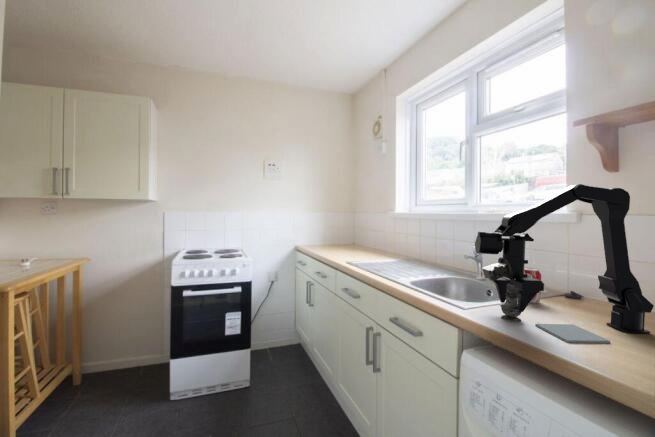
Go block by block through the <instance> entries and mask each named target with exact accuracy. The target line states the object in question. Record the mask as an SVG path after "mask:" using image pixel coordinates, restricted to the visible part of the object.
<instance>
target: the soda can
mask: <svg viewBox="0 0 655 437" xmlns="http://www.w3.org/2000/svg"><path fill="white" fill-rule="evenodd" d="M524 273H525V274H528V276H527V278H534V279H538V280H541V281H542V274H541V271H540V269H539V268H534V267H525V266H524ZM541 293H542V291H540V293H537V294H536V295H535V296H534V297H533V298H532V300H531V301H530V303H529V304H537V303H540V301H541V298H542V296H541Z"/></svg>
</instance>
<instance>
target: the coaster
mask: <svg viewBox="0 0 655 437" xmlns="http://www.w3.org/2000/svg"><path fill="white" fill-rule="evenodd" d="M535 327H536V328H538V329H541V330H542V331H545V332H547V333H548V334H550V335H552V336H554V337H556V338H557V339H560V340H562V341H563V342H565V343H568V344H571V343H572V344H611V340H609V339H607V338H605V337H603V336H600V335H598V334H596V333H593V332H591V331H589V330H586V329H585V328H582V327H580V326H578V325H575V324H574V323H573V324H571V323H563V324H562V323H535Z"/></svg>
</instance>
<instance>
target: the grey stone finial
mask: <svg viewBox="0 0 655 437" xmlns="http://www.w3.org/2000/svg"><path fill="white" fill-rule="evenodd" d="M513 288H516V287H515V285H514V282H512V281H511V282H509V283H507V292H506V293H505V295H506V300H505V303H502V304H500V306H499V307H500V309H501V313H503V315H501V316H500V318H501V319H502V320H505V321H508V322H513V323H521V322H522V319H521V318H520V317H519V316H521V315H522V312H519V309H518V294H517V292H516V291H515V290H514V289H513Z"/></svg>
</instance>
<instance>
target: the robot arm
mask: <svg viewBox="0 0 655 437" xmlns="http://www.w3.org/2000/svg"><path fill="white" fill-rule="evenodd" d="M575 201H579V202H582V203H586V204H590V205H591V207H592V209H593V210H592V211H593V213H595V215H596V216H597V217H598V219H599V221H600V224H601V225H600V226H601V233H602V241H603V250H604V257H605V266H606V270H605V272H604V273H603V275H601V274H599V275H597V280H598V281H599V284H598V285H599V286H598V289H599V290H601V293H602V294H603V295H604V296H606V299H607V301H608V303H610V304H612V310H611V311H610V312H611V313H610V322H606V325H607V326H610V327H612V328H615V329H617V330H620V331H622V332H624V333H628V334H651V331H650V330H647V329H645V321H646V319H645V318H646V317H645V316H646V313H649V314H651V313H652V311H653V309H654V304H653V303H652V302H651V301H649V300H648V299H647V298H646V297H645V296H644V295H643V292H642V289H641V288H642V287H641V286H640V282H639V280H638V279H637V278H636V276H635V275H634V274H633V272H632V271H631V266H630V256H629V248H628V241H627V240H628V239H627V234H626V233H627V232H626V226H625V218H626V216H627V214H628V212H629V211H630V206H631V195H630V193H629V191H627V190H625V189H624V188H621V187H613V188H605V187H598V186H590V185H586V184H581V183H579V184H571V185H569V186H567V187H566V188H565V189H563V190H561V191H559V192H557V193H555V194H553V195H552V196H549V197H548V198H546V199H544V200H542V201H540V202H538V203H536V204H535V205H534V204H533V205H532V206H531V207H528V208H525V209H521V210H517V211H515V212H511V213H509V214H506V215H504V216H503V217H502V219H501V224H500V225H498V227H497V228H496V229H495V230H494V231H493V232H486V231H478V232H477V236H476V239H475V241H474V249H475V253H476V254H479V255H494V256H495V255H496V256H497V255H499V254H500V253H502V256H501V257H498V259H497V260H498V261H497V262H496V263H491V264H488V265H486V266H483V267H481V269H482V272H483V275H484V278H485V279H488V280H490V281H491V282H492V283H493V284H494V286H495V288H496V291H497V296H498V298H499V302H500V303H502V304H505V302H506V295H505V293H506V292H507V283H509V282H514V285H515V287H516V288H513V289H514V290H515V291H516V292H517V294H518V309H519V312H521V313H523V312H525V310H526V309H527V307H528V306H529V304H531V303H530V301H531V300H532V298H533V297H534V296H535V295H536V294H537V293H540V291H541V292H544V291H545V283H544V281H542V279H541V280H538V279H534V278H527V276H528V274H525V273H524V267H525V265H526V264H527V265H528V264H529V260H528V259H526V258H525V257H526V242H534V241H535V240H534V238H532V237H531V236H530V234H529V233H528V232H527V231H528V230H530V229H531V228H533V226H535V225H536V224H537V222H538V221H540V220H541V219H542V218H545V217H546V216H548V215H550V214H552V213H554V212H556V211H558V210H561V209H562V208H564V207H566V206H568V205H570V204H572V203H575ZM526 232H527V233H526Z"/></svg>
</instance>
